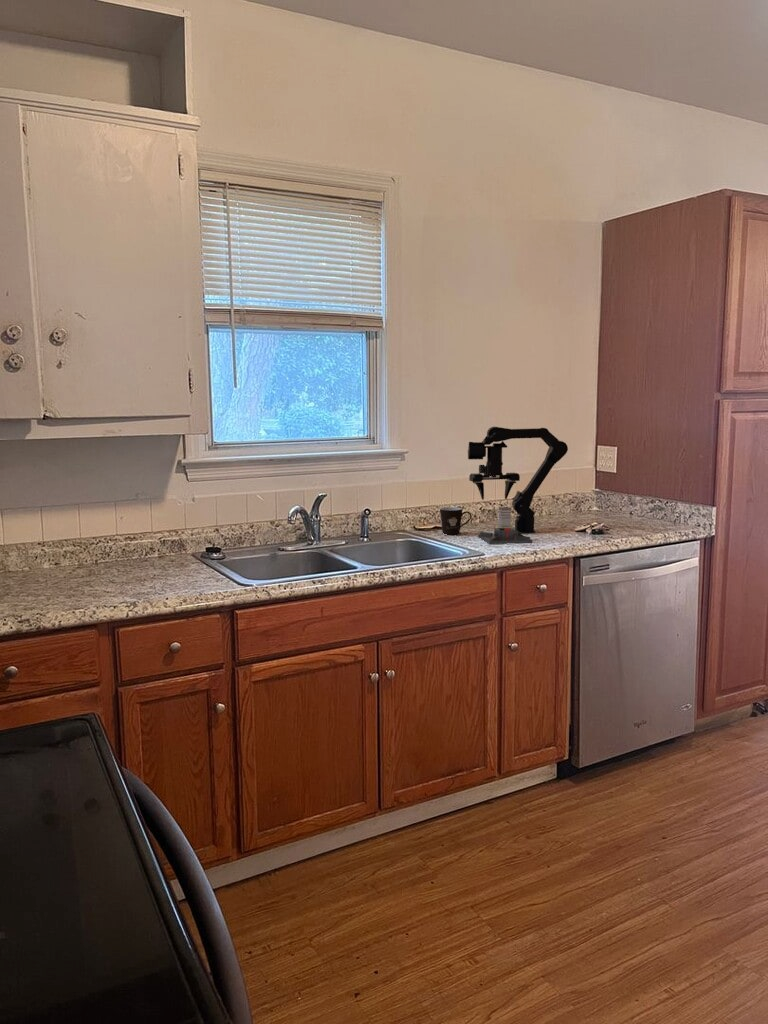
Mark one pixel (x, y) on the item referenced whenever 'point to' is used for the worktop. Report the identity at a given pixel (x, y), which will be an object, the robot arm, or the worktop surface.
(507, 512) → the column
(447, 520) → the coffee mug
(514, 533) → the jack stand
